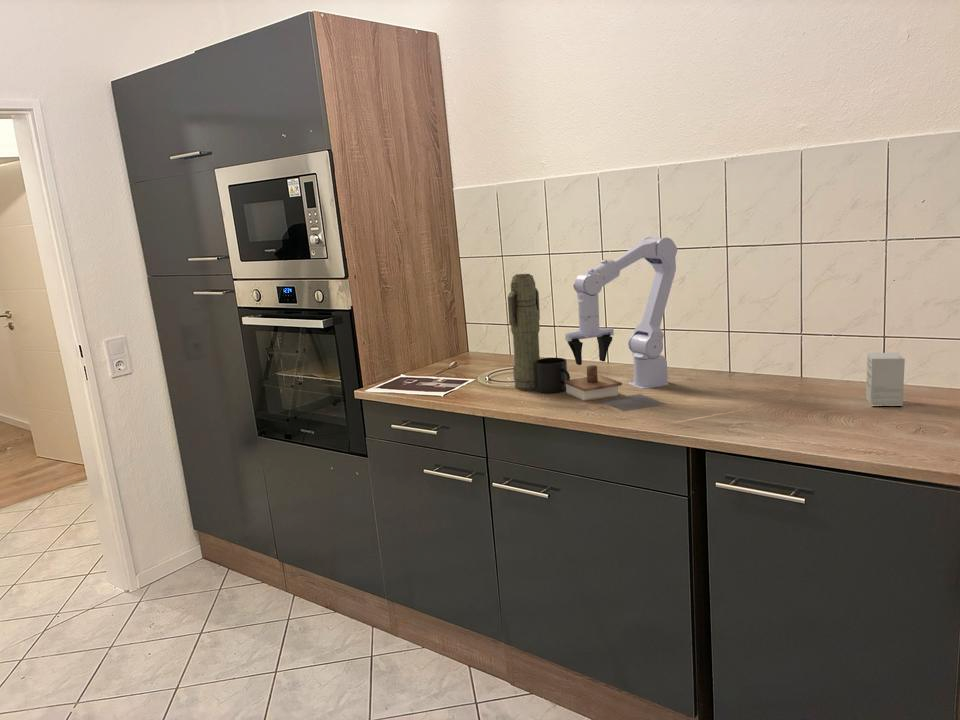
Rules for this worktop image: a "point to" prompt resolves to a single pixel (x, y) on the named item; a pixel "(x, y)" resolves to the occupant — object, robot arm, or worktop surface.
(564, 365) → the mug
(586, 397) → the dish
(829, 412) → the worktop surface
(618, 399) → the mat
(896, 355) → the supplement box
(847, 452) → the worktop surface
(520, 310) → the thermos
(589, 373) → the lid
